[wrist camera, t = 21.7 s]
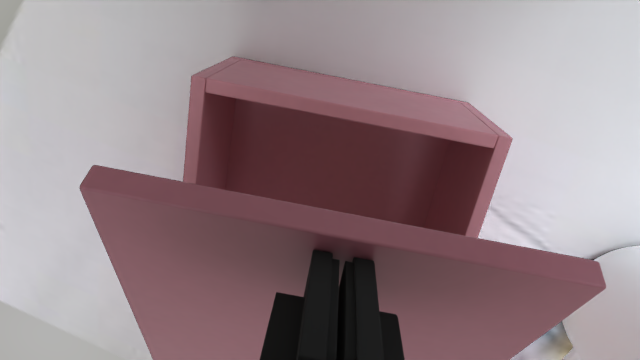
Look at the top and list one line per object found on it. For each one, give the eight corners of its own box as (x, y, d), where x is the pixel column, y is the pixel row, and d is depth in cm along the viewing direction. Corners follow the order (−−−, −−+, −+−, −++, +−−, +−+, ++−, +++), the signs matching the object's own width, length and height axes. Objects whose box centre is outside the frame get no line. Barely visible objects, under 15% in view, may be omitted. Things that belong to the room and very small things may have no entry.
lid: (92, 163, 12) (77, 187, 11) (600, 260, 12) (608, 288, 11) (167, 365, 24) (161, 381, 23) (417, 411, 24) (417, 428, 23)
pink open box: (232, 56, 25) (191, 75, 18) (469, 102, 25) (513, 138, 18) (206, 287, 30) (167, 366, 24) (400, 324, 31) (416, 412, 24)
